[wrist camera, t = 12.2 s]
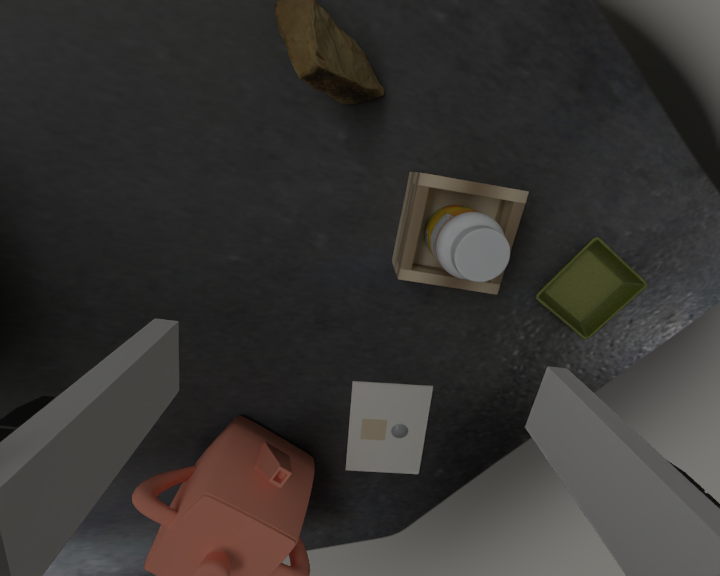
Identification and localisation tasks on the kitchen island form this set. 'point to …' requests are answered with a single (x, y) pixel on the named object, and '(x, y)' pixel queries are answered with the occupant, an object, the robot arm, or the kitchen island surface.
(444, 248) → the supplement bottle
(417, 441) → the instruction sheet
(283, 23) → the rock
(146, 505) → the teapot
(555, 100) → the kitchen island surface
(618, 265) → the green tray
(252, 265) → the kitchen island surface
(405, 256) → the wooden crate
